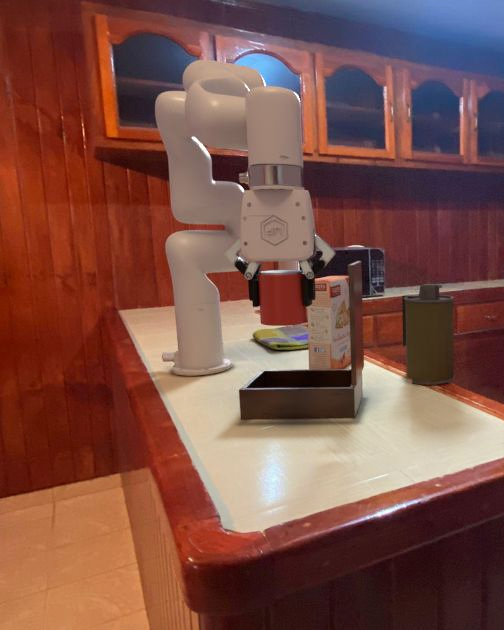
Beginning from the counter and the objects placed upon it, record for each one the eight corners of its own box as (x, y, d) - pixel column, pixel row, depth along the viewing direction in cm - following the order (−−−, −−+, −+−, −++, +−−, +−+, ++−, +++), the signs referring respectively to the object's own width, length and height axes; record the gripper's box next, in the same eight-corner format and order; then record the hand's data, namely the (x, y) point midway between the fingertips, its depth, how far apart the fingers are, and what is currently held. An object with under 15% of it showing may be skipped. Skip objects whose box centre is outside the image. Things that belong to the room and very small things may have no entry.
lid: (347, 265, 82) (353, 265, 82) (356, 261, 95) (361, 261, 95) (351, 385, 85) (356, 385, 85) (359, 366, 98) (364, 366, 98)
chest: (240, 424, 86) (238, 389, 85) (263, 400, 98) (261, 369, 98) (355, 422, 86) (354, 388, 85) (362, 399, 98) (362, 368, 98)
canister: (460, 374, 115) (460, 282, 112) (446, 387, 105) (446, 287, 102) (413, 370, 119) (412, 281, 116) (396, 382, 109) (394, 286, 106)
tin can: (254, 326, 75) (251, 273, 74) (267, 318, 81) (265, 270, 80) (301, 325, 75) (299, 272, 74) (310, 318, 82) (308, 269, 80)
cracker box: (334, 376, 114) (331, 280, 111) (308, 375, 116) (304, 279, 113) (354, 361, 128) (352, 275, 125) (331, 360, 129) (328, 274, 126)
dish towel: (271, 353, 138) (271, 342, 137) (251, 338, 159) (250, 328, 158) (335, 345, 146) (334, 335, 146) (307, 332, 167) (307, 323, 167)
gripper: (205, 179, 71) (214, 309, 74) (333, 177, 72) (338, 308, 74) (225, 184, 79) (232, 303, 82) (341, 183, 79) (345, 301, 82)
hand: (283, 304), depth 78 cm, fingers closed on tin can, 6 cm apart
